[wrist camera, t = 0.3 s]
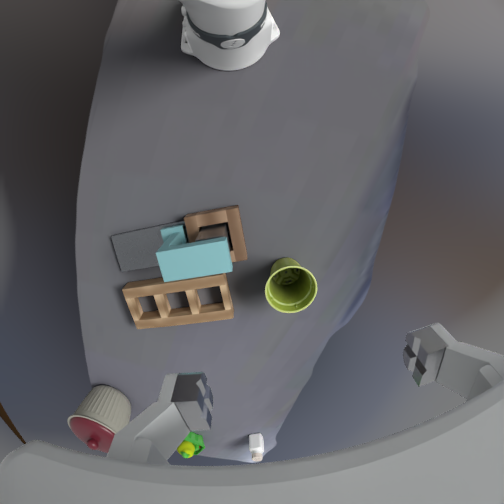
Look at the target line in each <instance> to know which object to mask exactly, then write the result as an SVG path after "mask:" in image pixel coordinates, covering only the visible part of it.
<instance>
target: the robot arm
mask: <svg viewBox="0 0 504 504" xmlns="http://www.w3.org/2000/svg"><path fill="white" fill-rule="evenodd" d="M179 1H181V3H182V4H183V6H182V8H181V12H182V15H183V16H184V21H183V22H182V24H183V31H182V40H181V49H182V51H183V52H184V53H186V54H189V55H193V56H195V57H197V58H198V59H199V60H201V61H202V62H203V63H204V64H206V65H208V66H210V67H212V68H215V69H218V70H227V71H231V70H238V69H242V68H245V67H248V66H250V65H252V64H254V63H255V62H256V61H258V60H259V59H260V58H261V57H262V56H263V54H264V53H265V51H266V49H267V47H268V46H269V45H270V44H271V43H272V42H273V41H275V40H276V39H277V38H278V37H279V36H280V31H279V29H278V27H277V25H276V23H275V21H274V19H273V17H272V15H271V13H270V12H269V10H268V8H267V3H266V0H179ZM186 42H187V43H186ZM405 341H406V342H407V346H406V347H405V348H404V352H403V359H404V363H405V365H406V367H407V369H408V370H410V371H412V372H413V378H414V380H415V382H416V383H417V384H418V386H419V387H420V386H423V385H426V384H428V383H431V382H433V381H436V382H437V383H439V384H441V385H442V386H444V387H446V388H448V389H450V390H451V391H453V392H455V393H457V394H459V395H460V396H462V397H464V398H466V399H467V400H466V402H465V403H463V404H461V405H459V406H457V407H455V408H453V409H451V410H449V411H447V412H445V413H443V414H441V415H438V416H436V417H434V418H432V419H430V420H427V421H425V422H423V423H420V424H418V425H415V426H413V427H410V428H408V429H405V430H403V431H400V432H397V433H394V434H392V435H389V436H386V437H383V438H380V439H377V440H374V441H371V442H367V443H364V444H360V445H357V446H353V447H349V448H345V449H341V450H337V451H333V452H329V453H324V454H320V455H314V456H309V457H304V458H298V459H291V460H285V461H277V462H270V463H260V464H249V465H233V466H175V465H170V464H169V463H168V462H167V459H168V458H169V457H170V456H171V455H172V454H173V452H174V451H175V450H176V449H177V448H178V446H179V445H180V444H181V443H182V441H183V440H184V439H185V438H186V437H187V435H188V434H189V433H190V431H199V430H211V423H212V415H211V413H210V411H211V410H212V409H213V394H212V390H211V388H210V386H208V385H207V377H206V375H205V373H204V372H195V373H179V374H167V375H166V376H165V379H164V382H163V385H162V388H161V391H160V395H159V398H158V401H157V403H153V404H152V405H150V406H149V407H148V408H147V409H146V410H144V411H143V412H142V413H141V414H140V415H138V416H137V417H136V418H135V419H133V420H132V421H131V422H130V423H129V424H127V425H126V426H125V427H124V428H122V429H121V430H120V431H119V432H117V433H116V434H115V435H114V438H113V441H112V443H111V446H110V449H109V452H108V455H107V457H101V456H96V455H91V454H87V453H82V452H78V451H74V450H70V449H66V448H62V447H59V446H56V445H53V444H49V443H46V442H44V441H40V440H33V441H31V442H29V443H27V444H25V445H23V446H21V447H19V448H18V449H16V450H14V451H13V452H11V453H9V454H8V455H7V456H6V457H5V458H4V460H3V461H2V463H1V464H0V504H504V356H503V355H501V354H498V353H495V352H491V351H488V350H485V349H482V348H479V347H476V346H473V345H469V344H466V343H463V342H457V341H456V340H455V339H454V338H453V337H452V336H451V335H450V334H449V333H448V331H447V330H446V329H445V328H444V327H443V326H442V325H441V324H440V323H434V324H432V325H429V326H427V327H424V328H421V329H418V330H415V331H411V332H409V333H407V335H406V340H405Z"/></svg>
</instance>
